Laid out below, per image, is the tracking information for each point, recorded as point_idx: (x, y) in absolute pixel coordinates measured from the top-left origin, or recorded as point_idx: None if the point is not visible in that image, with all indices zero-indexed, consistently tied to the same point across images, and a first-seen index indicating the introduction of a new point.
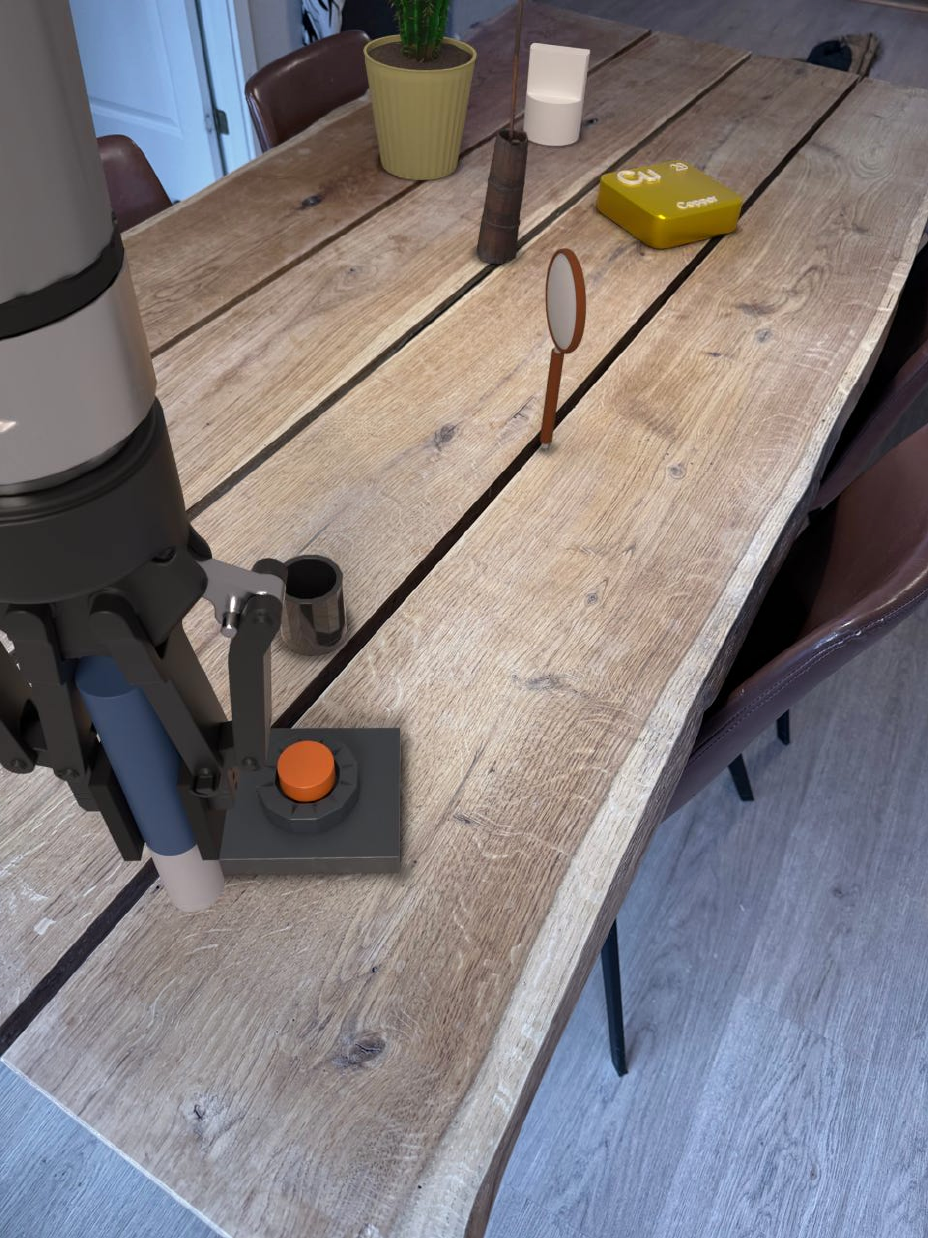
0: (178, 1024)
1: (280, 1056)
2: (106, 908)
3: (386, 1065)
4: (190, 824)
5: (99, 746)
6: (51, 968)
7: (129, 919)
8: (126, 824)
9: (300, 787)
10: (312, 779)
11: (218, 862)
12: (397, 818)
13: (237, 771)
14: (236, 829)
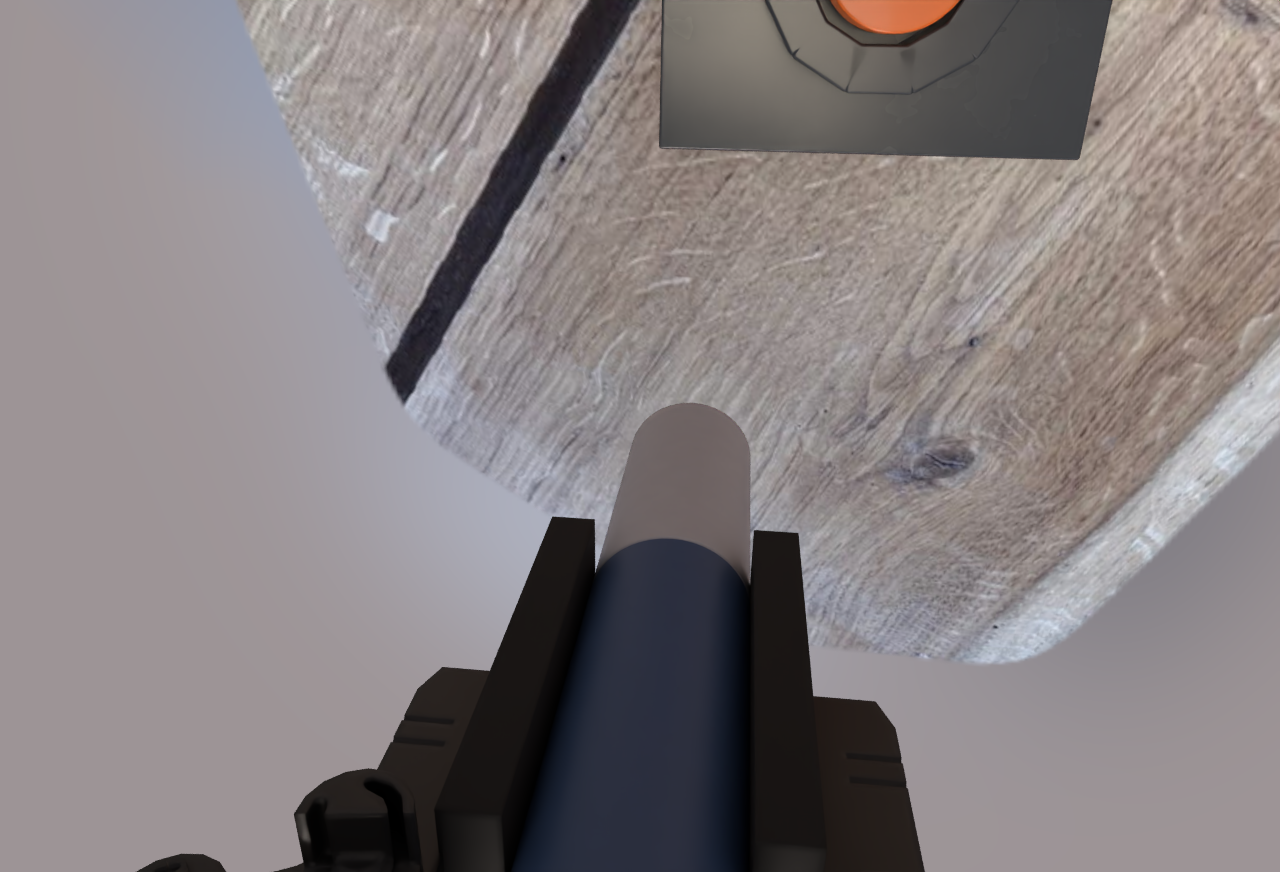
0: (641, 403)
1: (804, 460)
2: (478, 198)
3: (971, 486)
4: None
5: (443, 859)
6: (419, 301)
7: (524, 222)
8: None
9: (885, 32)
10: (919, 7)
11: (749, 492)
12: (1097, 54)
13: (900, 758)
14: (713, 72)
